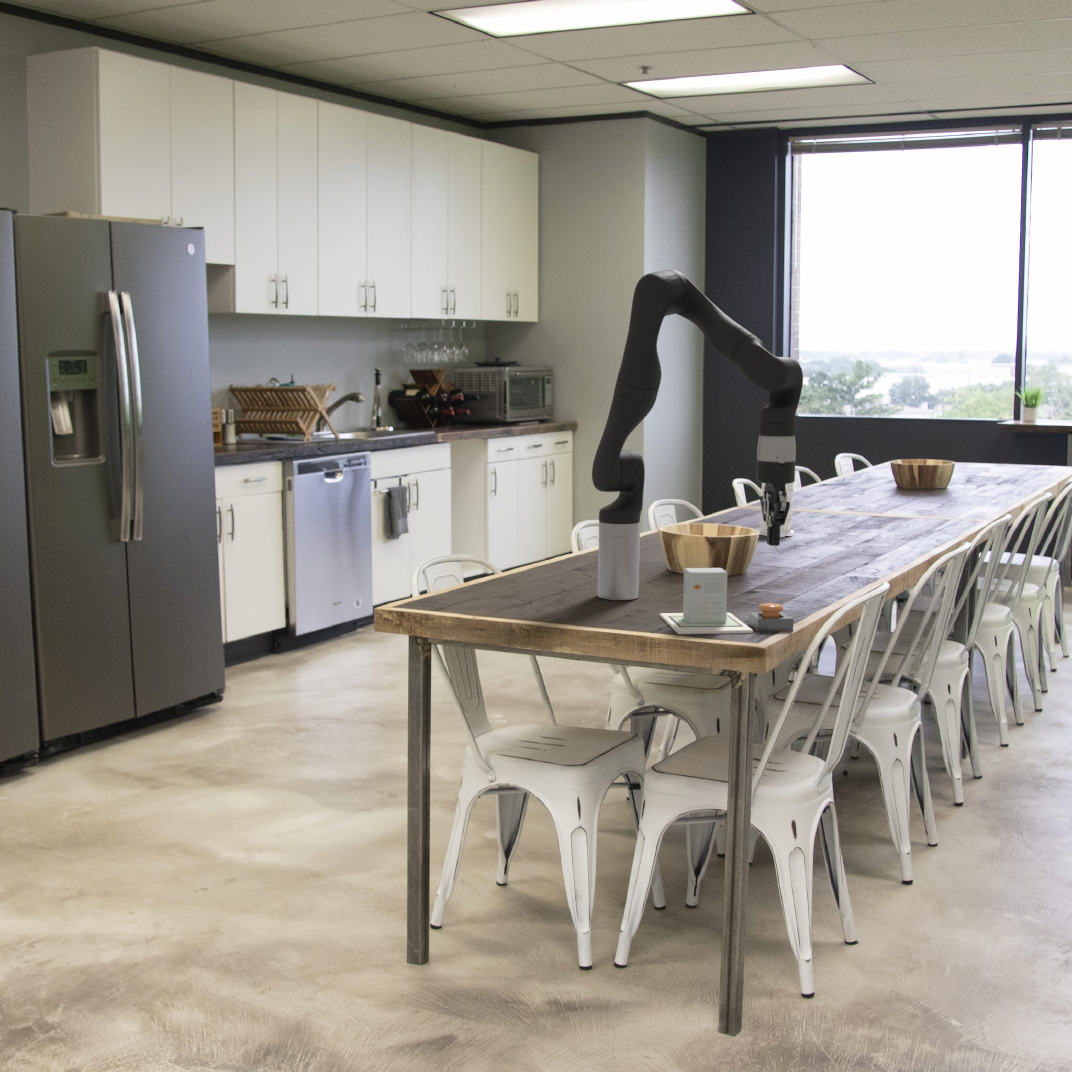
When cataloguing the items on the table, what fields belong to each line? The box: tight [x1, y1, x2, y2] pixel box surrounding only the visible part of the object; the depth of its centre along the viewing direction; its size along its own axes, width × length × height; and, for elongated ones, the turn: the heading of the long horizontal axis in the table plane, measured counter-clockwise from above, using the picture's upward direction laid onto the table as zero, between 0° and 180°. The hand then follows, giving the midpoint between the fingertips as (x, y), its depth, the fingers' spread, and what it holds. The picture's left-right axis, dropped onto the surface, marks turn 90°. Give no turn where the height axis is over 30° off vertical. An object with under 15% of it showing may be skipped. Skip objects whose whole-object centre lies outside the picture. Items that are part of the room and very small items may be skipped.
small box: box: [682, 567, 728, 623], centre depth 259 cm, size 8×6×10 cm
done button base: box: [747, 611, 794, 632], centre depth 257 cm, size 7×7×2 cm
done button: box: [758, 602, 784, 618], centre depth 256 cm, size 5×5×3 cm
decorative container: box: [757, 480, 796, 535], centre depth 396 cm, size 12×12×18 cm
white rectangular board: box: [659, 611, 754, 635], centre depth 259 cm, size 18×15×1 cm
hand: (773, 545), depth 255 cm, fingers closed
